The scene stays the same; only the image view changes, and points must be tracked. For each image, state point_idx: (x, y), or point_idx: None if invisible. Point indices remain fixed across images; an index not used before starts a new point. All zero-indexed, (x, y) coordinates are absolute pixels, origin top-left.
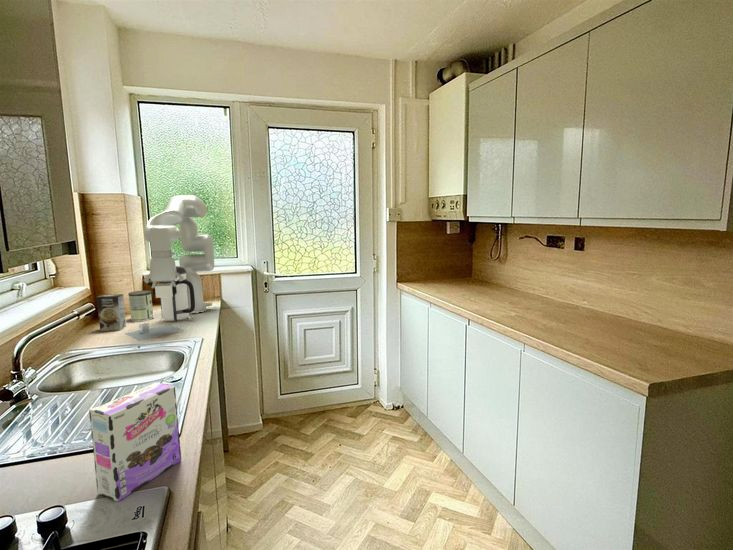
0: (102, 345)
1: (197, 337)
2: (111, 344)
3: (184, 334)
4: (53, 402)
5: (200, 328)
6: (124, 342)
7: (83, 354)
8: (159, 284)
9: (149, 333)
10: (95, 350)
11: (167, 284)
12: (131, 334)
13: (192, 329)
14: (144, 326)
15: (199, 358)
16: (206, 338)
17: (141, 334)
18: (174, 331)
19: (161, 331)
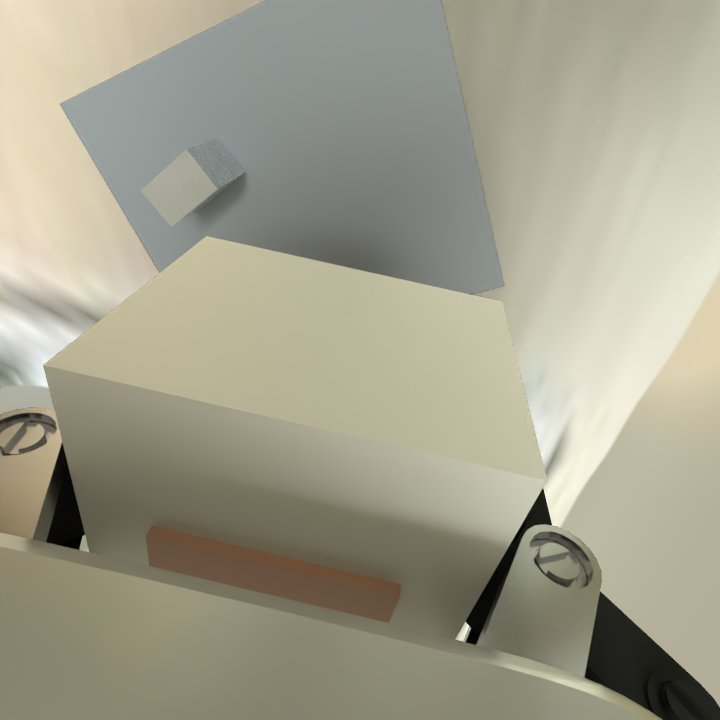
0: (18, 263)
1: (541, 407)
2: (64, 270)
3: (490, 292)
4: None
5: (663, 169)
6: (127, 268)
7: (5, 377)
8: (130, 458)
9: (252, 225)
10: (29, 343)
11: (347, 606)
12: (125, 176)
13: (590, 165)
14: (195, 209)
15: (459, 636)
16: (578, 452)
17: (200, 223)
18: (426, 274)
19: (335, 213)
